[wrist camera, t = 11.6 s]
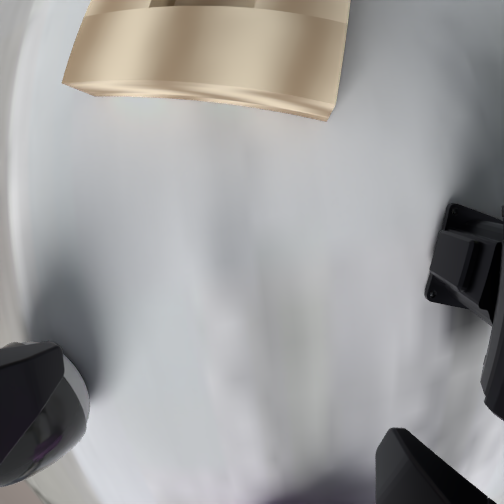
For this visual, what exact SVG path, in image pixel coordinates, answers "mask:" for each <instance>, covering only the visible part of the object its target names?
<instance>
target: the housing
mask: <svg viewBox="0 0 504 504" xmlns="http://www.w3.org/2000/svg"><path fill="white" fill-rule="evenodd" d="M350 1H351V0H91V2H90V4H89V6H88V9H87V11H86V14H85V16H84V18H83V21H82V23H81V26H80V29H79V31H78V34H77V37H76V39H75V42H74V45H73V48H72V51H71V54H70V57H69V60H68V63H67V67H66V70H65V73H64V77H63V80H62V84H65V85H67V86H70V87H73V88H75V89H78V90H80V91H83V92H85V93H88V94H90V95H93V96H129V97H156V98H172V99H185V100H197V101H206V102H216V103H224V104H232V105H239V106H246V107H253V108H259V109H265V110H271V111H277V112H282V113H288V114H293V115H298V116H303V117H308V118H312V119H317V120H321V121H326V122H327V120H328V118H329V116H330V114H331V112H332V110H333V109H334V107H335V105H336V100H337V94H338V87H339V81H340V75H341V68H342V62H343V55H344V48H345V40H346V33H347V25H348V17H349V9H350Z"/></svg>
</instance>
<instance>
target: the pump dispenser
mask: <svg viewBox="0 0 504 504" xmlns="http://www.w3.org/2000/svg"><path fill="white" fill-rule="evenodd" d="M34 343H39V342H22V343H18V342H13V343H9V344H7V345H6V346H4V347H3V348H9V347H15V346H22V345H28V344H34ZM1 349H2V348H1ZM63 359H64V367H65V372H64V376H63V378H62V380H61V381H60V383H59V384H58V386H57V387H56V389H55V390H54V392H53V393H52V395H51V397H50V398H49V400H48V401H47V403H46V405H45V406H44V408H43V409H42V411H41V412H40V414H39V415H38V416H37V418H36V419H35V420H34V421H33V423H32V424H31V425H30V427H29V428H28V429H27V430H26V432H25V433H24V434H23V435H22V437H21V438H20V439H19V441H18V442H17V443H16V445H15V446H14V447H13V448H12V450H11V451H10V452H9V454H8V455H7V456H6V458H5V459H4V460H3V462H2V463H1V464H0V487H4V486H8V485H12V484H15V483H18V482H20V481H23V480H25V479H27V478H29V477H31V476H33V475H35V474H37V473H39V472H41V471H42V470H44V469H46V468H47V467H49V466H50V465H52V464H53V463H55V462H56V461H58V460H59V459H60V458H61V457H63V456H64V455H65V454H66V453H68V452H69V451H70V450H71V449H72V448H73V447H74V446H75V445H76V444H77V443H78V442H79V441H80V440H81V439H82V437H83V436H84V434H85V432H86V423H87V420H88V417H89V411H90V402H89V395H88V391H87V388H86V385H85V382H84V380H83V378H82V376H81V375H80V373H79V371H78V370H77V369H76V367H75V366H74V365H73V364H72V362H71V361H70V360H69V359H68V358H67V357H66V356H65V355H63Z"/></svg>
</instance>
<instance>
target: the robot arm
mask: <svg viewBox="0 0 504 504" xmlns="http://www.w3.org/2000/svg"><path fill="white" fill-rule="evenodd" d="M453 208H455V214H454V215H453V214H452V209H453ZM502 217H504V206H502ZM430 271H431V273H430V276H429V279H428V283H427V286H426V289H425V297H426V299H427V300H429V301H431V302H435V303H440V304H445V305H450V306H455V307H460V308H465V309H470V310H471V311H472V312H474V313H475V314H476V315H478V316H479V317H480V318H482V319H483V320H484V321H486V322H487V323H488V324H489V325H491V326H492V331H491V336H490V341H489V345H488V350H487V354H486V356H485V359H484V363H483V365H484V366H483V370H482V376H481V385H482V388H483V391H484V394H485V396H486V397H485V400H484V403H485V404H486V405H487V407H488V408H489V409H490V410H491V411H492V412H493V413H494V414H495V415H496V416H497V417H499V418H500V419H501V420H503V421H504V221H501V220H499V219H496V218H494V217H491V216H489V215H486V214H483V213H481V212H478V211H475V210H473V209H470V208H467V207H464V206H461V205H459V204H454V203H451V204H449V205H448V206H447V208H446V213H445V218H444V222H443V227H442V231H441V232H439V235H438V239H437V243H436V247H435V251H434V255H433V258H432V262H431V266H430ZM432 291H434V294H433V295H432V296H430V293H431V292H432ZM64 372H65V367H64V359H63V350H62V348H61V346H60V345H58V344H55V343H53V342H51V341H46V342H40V343H34V344H28V345H22V346H15V347H9V348H2V349H0V464H1V463H2V462H3V460H4V459H5V458H6V456H7V455H8V454H9V452H10V451H11V450H12V448H13V447H14V446H15V445H16V443H17V442H18V441H19V439H20V438H21V437H22V435H23V434H24V433H25V432H26V430H27V429H28V428H29V427H30V425H31V424H32V423H33V421H34V420H35V419H36V418H37V416H38V415H39V414H40V412H41V411H42V409H43V408H44V406H45V405H46V403H47V401H48V400H49V398H50V397H51V395H52V393H53V392H54V390H55V389H56V387H57V386H58V384H59V383H60V381H61V380H62V378H63V376H64ZM376 504H496V503H495V502H494V501H493V500H491V499H490V498H488V497H487V496H486V495H485V494H484V493H483V492H481V491H480V490H479V489H478V488H476V487H475V486H474V485H473V484H471V483H470V482H469V481H468V480H466V479H465V478H464V477H463V476H461V475H460V474H459V473H458V472H457V471H455V470H454V469H453V468H452V467H450V466H449V465H448V464H447V463H446V462H444V461H443V460H442V459H441V458H440V457H438V456H437V455H436V454H435V453H434V452H432V451H431V450H430V449H429V448H428V447H426V446H425V445H424V444H423V443H422V442H421V441H419V440H418V439H417V438H416V437H415V436H413V435H412V434H411V433H410V432H409V431H408V430H406V429H405V428H390V429H389V430H388V431H387V433H386V435H385V436H384V438H383V440H382V442H381V443H380V445H379V447H378V448H377V451H376Z"/></svg>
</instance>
